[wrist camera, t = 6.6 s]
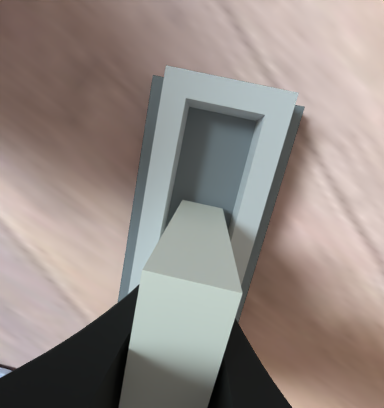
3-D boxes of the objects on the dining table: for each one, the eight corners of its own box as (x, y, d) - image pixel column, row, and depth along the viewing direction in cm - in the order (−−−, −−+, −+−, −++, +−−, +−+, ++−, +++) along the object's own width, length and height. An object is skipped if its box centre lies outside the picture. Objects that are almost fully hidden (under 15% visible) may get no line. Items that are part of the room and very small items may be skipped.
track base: (212, 392, 14) (213, 436, 12) (111, 367, 15) (93, 406, 12) (297, 110, 10) (321, 97, 8) (157, 80, 11) (143, 60, 8)
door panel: (189, 339, 12) (168, 533, 6) (155, 331, 12) (100, 514, 6) (222, 208, 10) (242, 293, 4) (182, 199, 11) (142, 269, 4)
